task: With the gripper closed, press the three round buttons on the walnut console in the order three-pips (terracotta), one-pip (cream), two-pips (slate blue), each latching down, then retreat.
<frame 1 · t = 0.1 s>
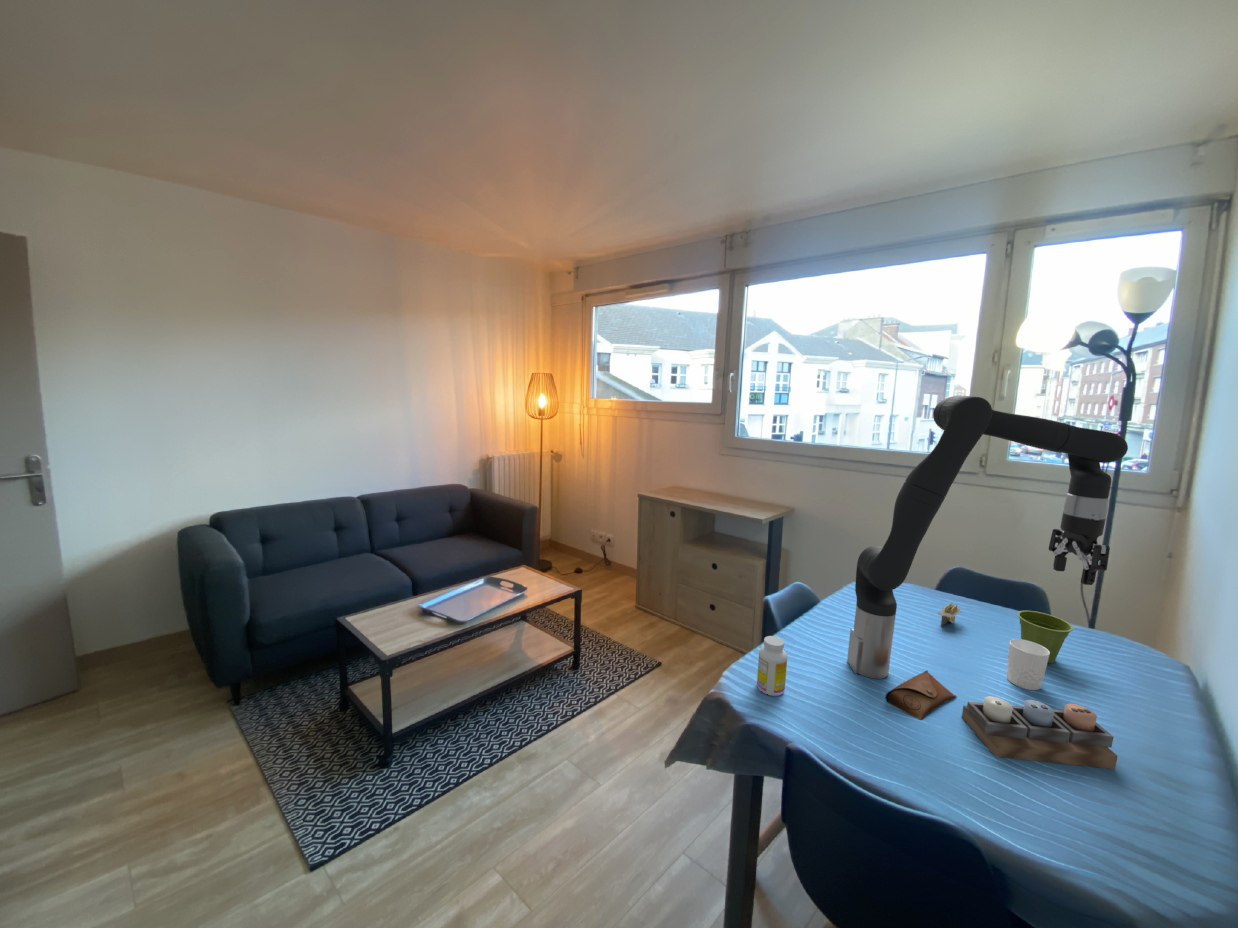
hand: (1072, 577, 118), 29 cm above the table, fingers open, 8 cm apart
white cup: (1022, 683, 124), on the table
button one: (997, 709, 103), point 7 cm above the table, slide at 0.0 cm
button three: (1079, 716, 101), point 7 cm above the table, slide at 0.0 cm
supplement bottle: (770, 689, 119), on the table
button two: (1038, 712, 102), point 7 cm above the table, slide at 0.0 cm
sunglasses case: (921, 700, 117), on the table
plant pot: (1037, 657, 136), on the table
platform: (948, 625, 155), on the table
console: (1032, 741, 103), on the table
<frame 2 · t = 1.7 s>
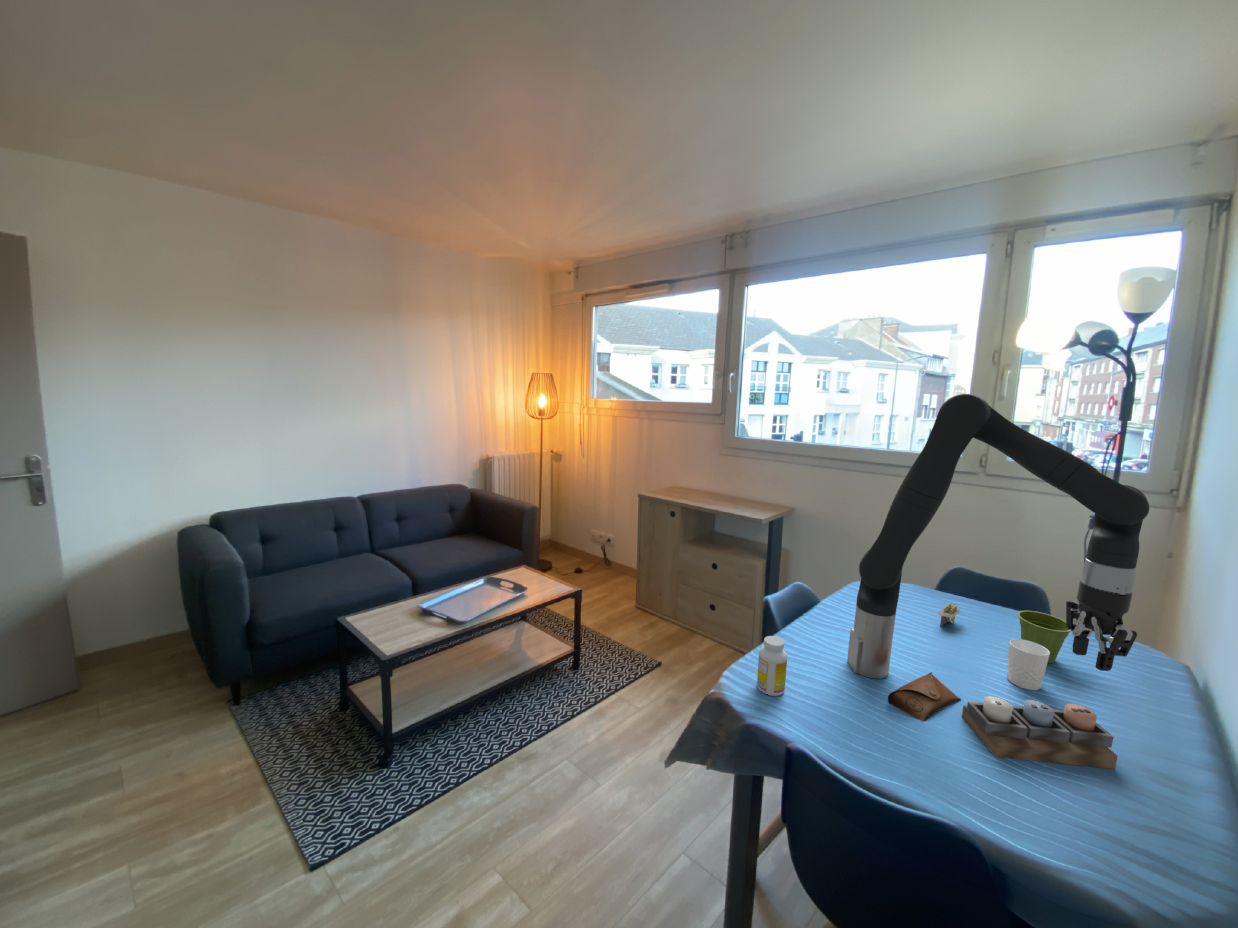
hand: (1090, 661, 99), 19 cm above the table, fingers open, 5 cm apart
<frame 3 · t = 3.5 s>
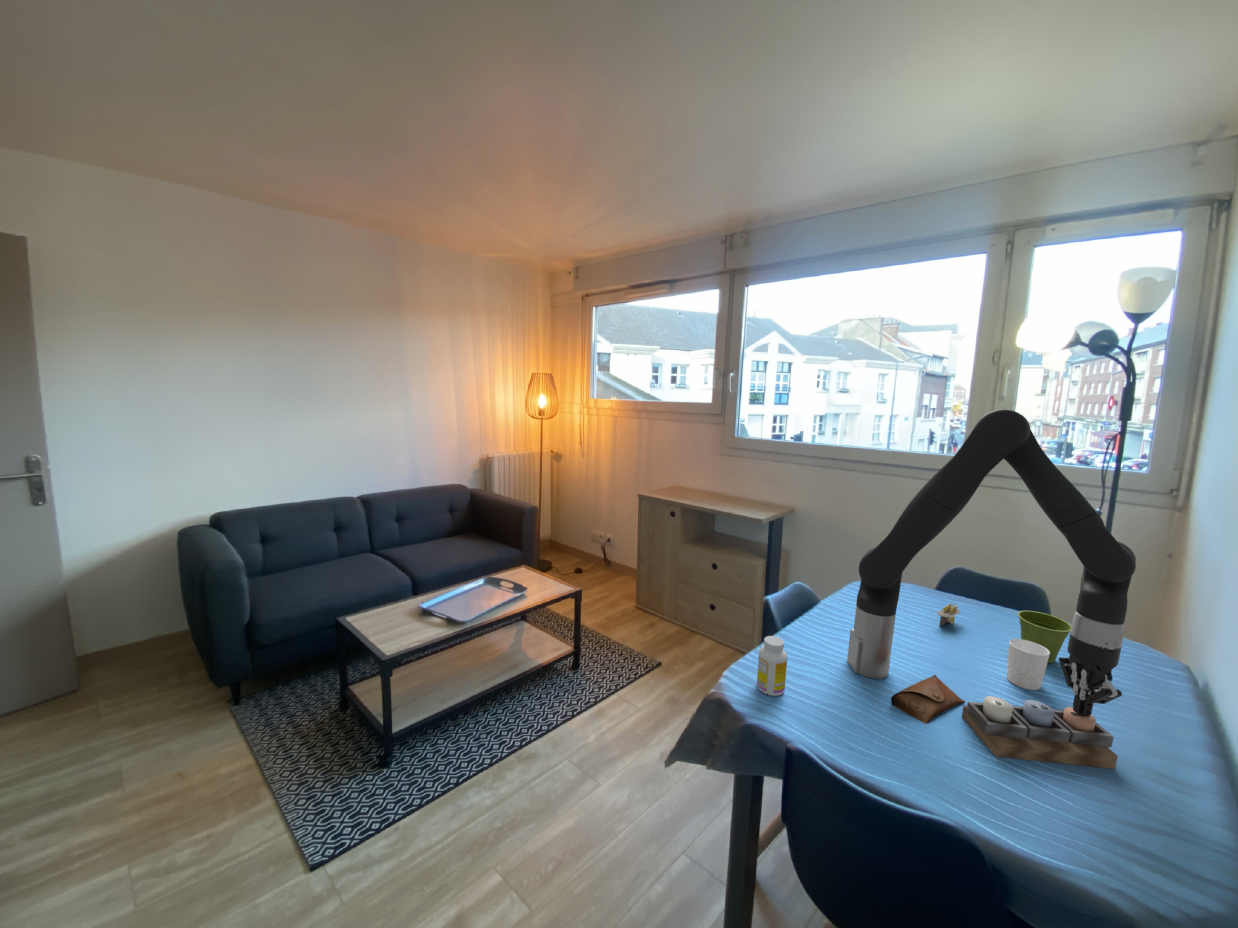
hand: (1081, 713, 101), 7 cm above the table, fingers closed
button three: (1078, 720, 101), point 6 cm above the table, slide at 0.9 cm, touching gripper
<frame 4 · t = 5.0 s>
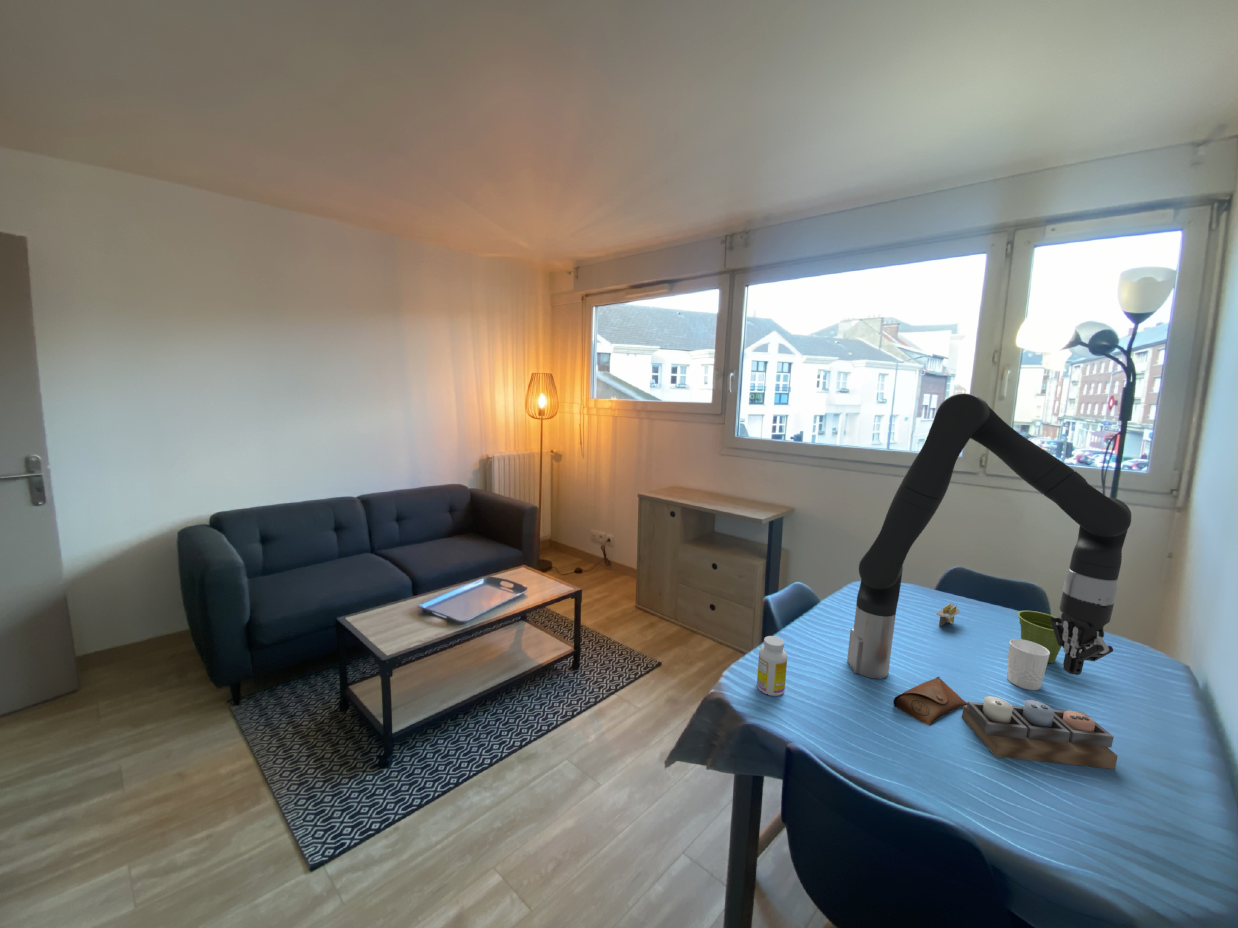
hand: (1071, 672, 100), 16 cm above the table, fingers closed
button three: (1078, 723, 101), point 5 cm above the table, slide at 1.7 cm
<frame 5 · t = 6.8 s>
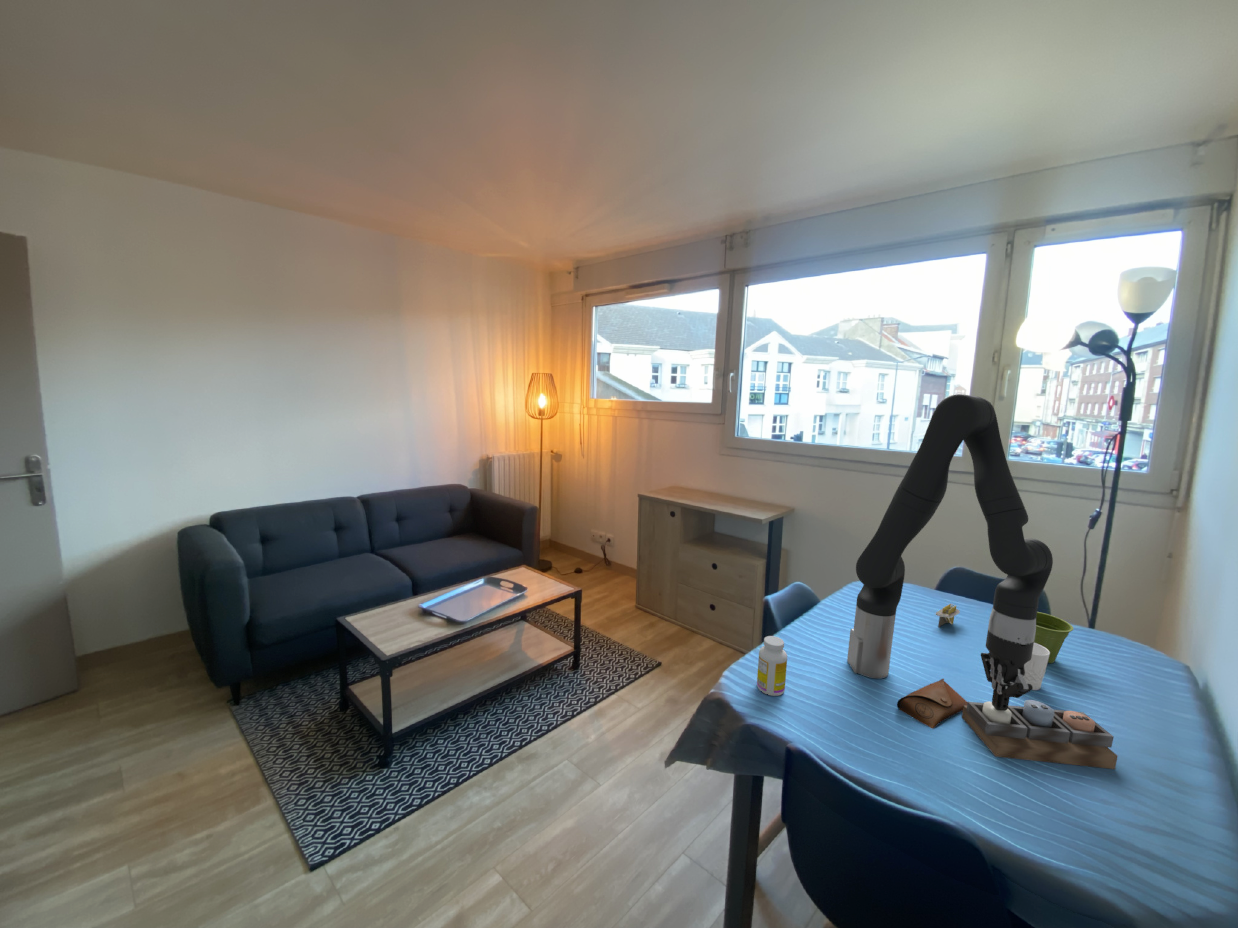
hand: (999, 707, 102), 7 cm above the table, fingers closed
button one: (996, 714, 103), point 5 cm above the table, slide at 1.3 cm, touching gripper
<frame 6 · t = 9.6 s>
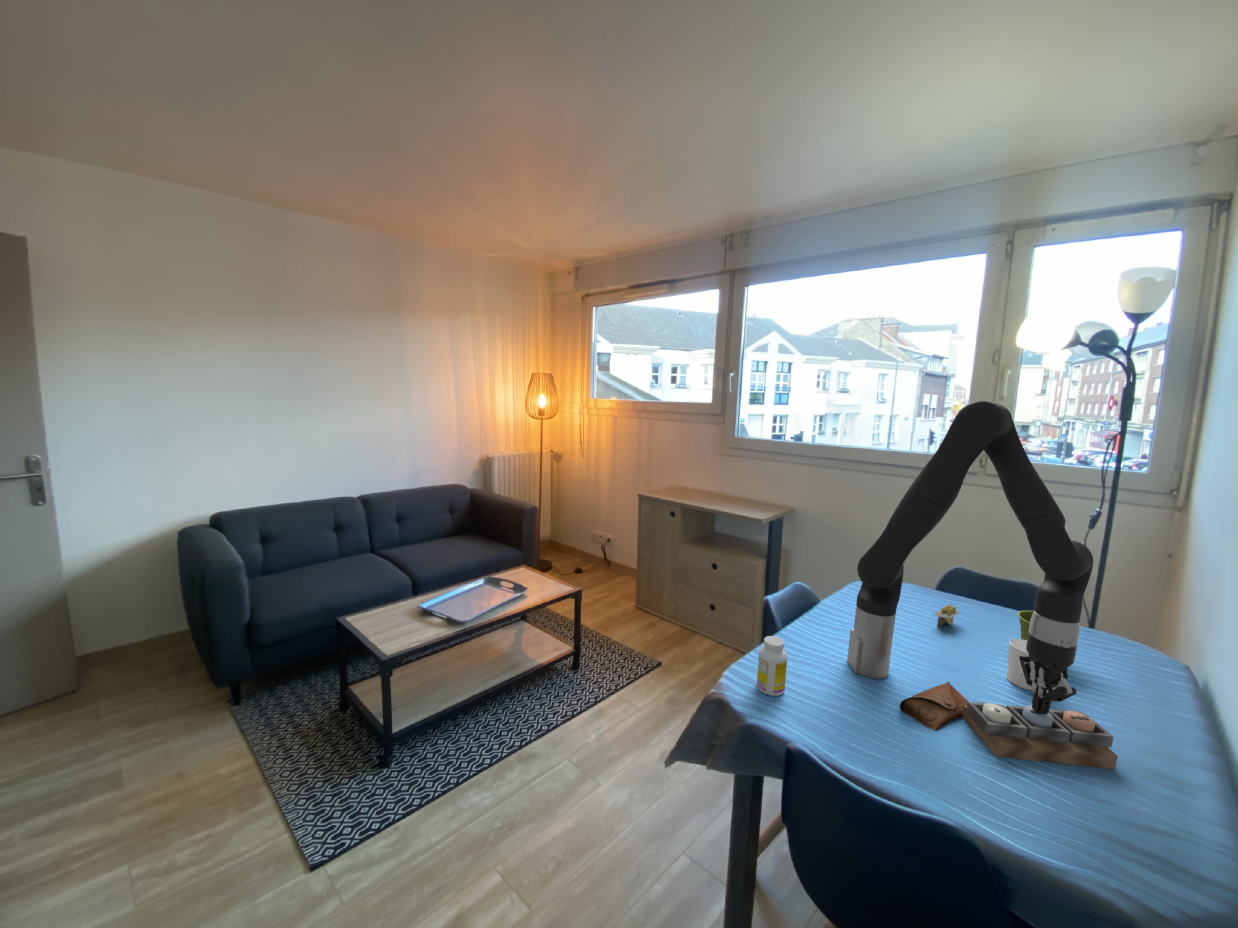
hand: (1039, 711, 102), 7 cm above the table, fingers closed
button one: (996, 716, 103), point 5 cm above the table, slide at 1.7 cm
button two: (1037, 718, 102), point 5 cm above the table, slide at 1.3 cm, touching gripper
sunglasses case: (939, 712, 113), on the table
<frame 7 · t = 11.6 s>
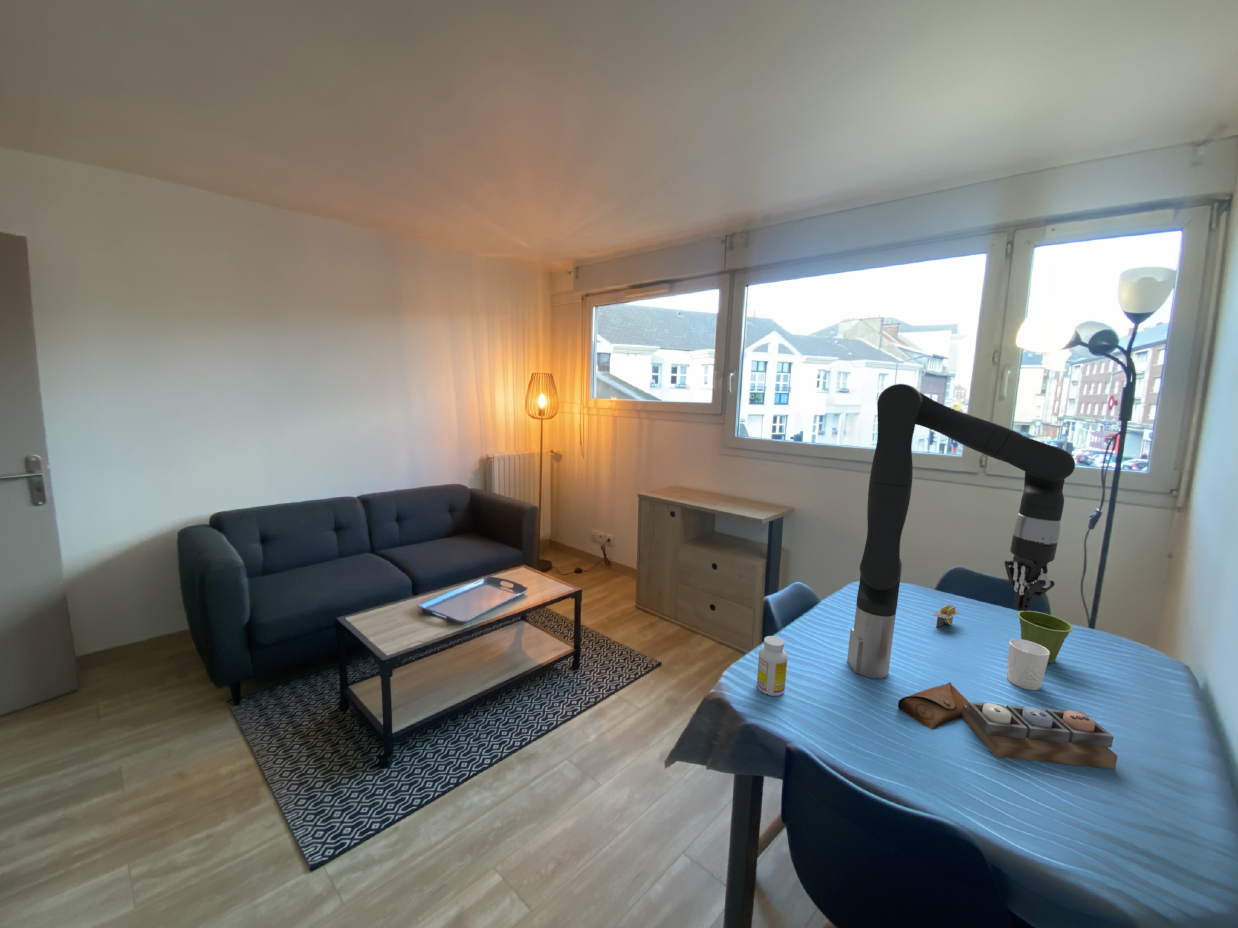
hand: (1020, 609, 109), 25 cm above the table, fingers closed
button two: (1036, 720, 102), point 5 cm above the table, slide at 1.7 cm
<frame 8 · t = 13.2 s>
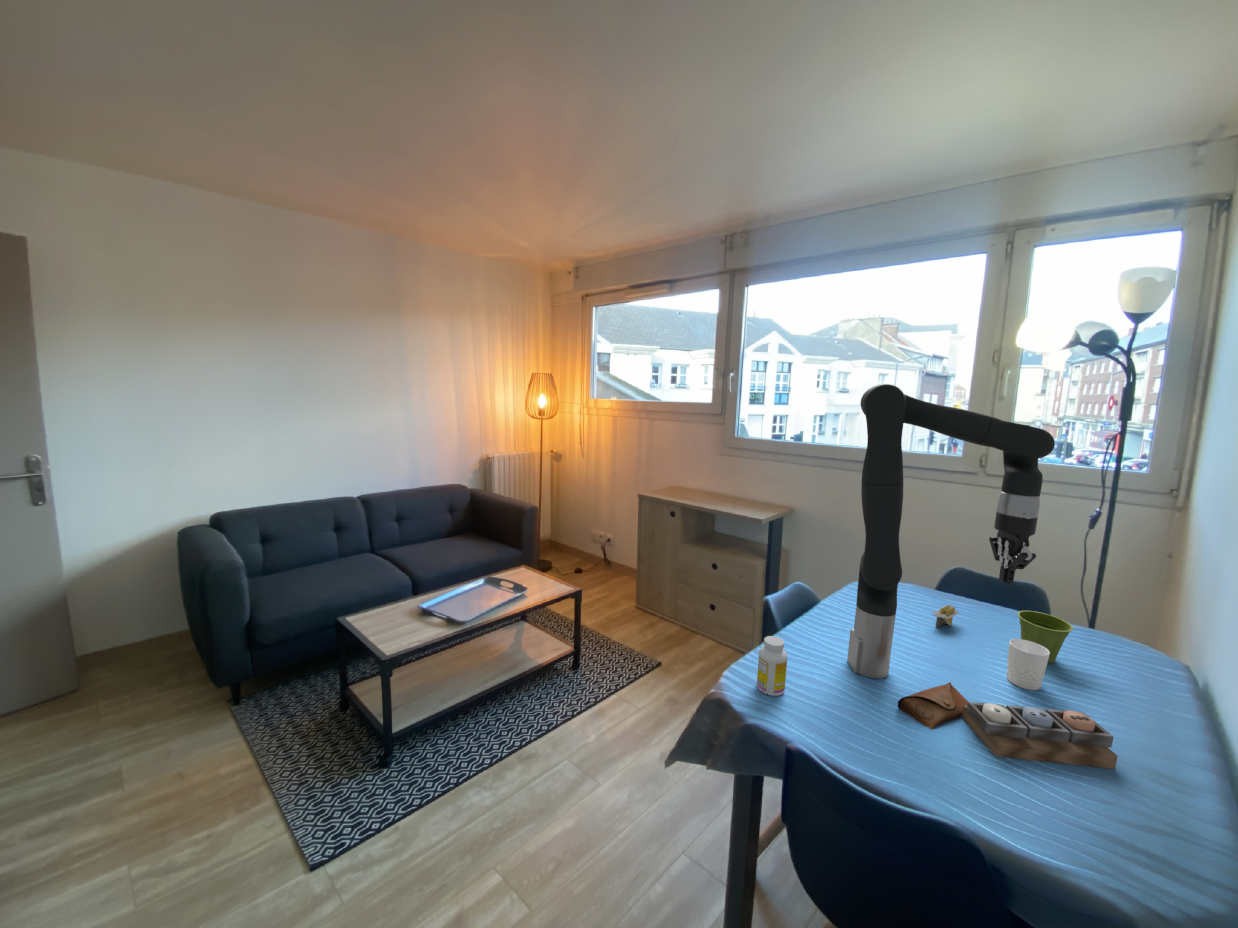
hand: (1005, 582, 115), 29 cm above the table, fingers closed
at the end: button three slide at 1.7 cm; button one slide at 1.7 cm; button two slide at 1.7 cm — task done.
